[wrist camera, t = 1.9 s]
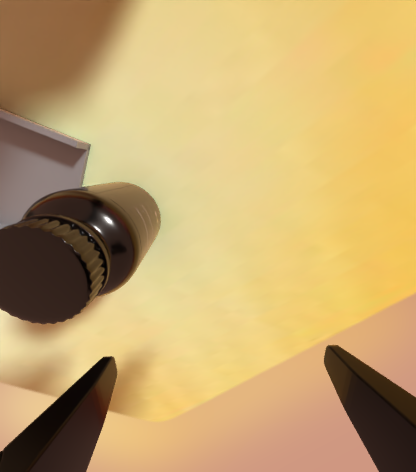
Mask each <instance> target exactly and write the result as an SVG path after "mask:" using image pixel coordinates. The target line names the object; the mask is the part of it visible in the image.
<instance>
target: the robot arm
mask: <svg viewBox="0 0 416 472" xmlns="http://www.w3.org/2000/svg"><path fill="white" fill-rule="evenodd" d="M324 364H325V367H326V370H327V372H328V374H329V376H330V378H331V381H332V383H333V385H334V387H335V390H336V392H337V394H338V396H339V398H340V401H341V403H342V405H343V407H344V409H345V411H346V413H347V415H348V416H349V418H350V420H351V422H352V424H353V425H354V427H355V429H356V431H357V433H358V434H359V436H360V438H361V440H362V441H363V443H364V445H365V447H366V449H367V451H368V453H369V454H370V456H371V458H372V460H373V462H374V463H375V465H376V467H377V469H378V470H379V472H416V397H414V396H413V395H411V394H410V393H408V392H407V391H405V390H404V389H402V388H401V387H399V386H398V385H396V384H395V383H393V382H392V381H390V380H389V379H387V378H386V377H384V376H383V375H381V374H380V373H378V372H377V371H375V370H374V369H372V368H371V367H369V366H368V365H366V364H365V363H363V362H362V361H360V360H359V359H357V358H356V357H354V356H353V355H351V354H350V353H348V352H347V351H345V350H344V349H342V348H341V347H339V346H338V345H328V346H327V347H326V351H325V356H324ZM116 378H117V368H116V363H115V359H114V357H112V356H110V357H103V358H102V359H100V360H99V361H98V362H97V363H96V364H95V365H94V366H93V367H92V368H91V369H90V370H88V371H87V372H86V373H85V374H84V375H83V376H82V377H81V378H80V379H79V380H78V381H77V382H75V383H74V384H73V385H72V386H71V387H70V388H69V389H68V390H67V391H66V392H65V393H64V394H62V395H61V396H60V397H59V398H58V399H57V400H56V401H55V402H54V403H53V404H52V405H51V406H49V407H48V408H47V409H46V410H45V411H44V412H43V413H42V414H41V415H40V416H39V417H38V418H37V419H35V420H34V422H32V423H31V424H30V425H29V426H28V427H27V428H26V429H25V430H23V432H22V433H20V434H19V435H18V436H17V437H16V438H15V439H14V440H13V441H12V442H10V443H9V444H8V445H7V446H6V447H5V448H4V450H3V451H1V452H0V472H86V470H87V468H88V465H89V462H90V460H91V457H92V454H93V451H94V449H95V446H96V443H97V440H98V438H99V435H100V433H101V430H102V427H103V424H104V421H105V418H106V414H107V411H108V407H109V403H110V400H111V396H112V392H113V389H114V385H115V382H116Z"/></svg>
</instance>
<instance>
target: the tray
mask: <svg viewBox="0 0 416 472" xmlns="http://www.w3.org/2000/svg"><path fill="white" fill-rule="evenodd" d="M89 150H90V144H88V143H85V142H83V141H80V140H78V139H75V138H73V137H71V136H68V135H66V134H63V133H61V132H58V131H56V130H53V129H51V128H48V127H46V126H43V125H41V124H38V123H36V122H33V121H31V120H28V119H26V118H23V117H21V116H18V115H16V114H13V113H11V112H8V111H6V110H3V109H1V108H0V229H2V228H3V227H5V226H8V225H12V224H15V223H17V222H19V221H21V219H22V217H23V215H24V214H25V212H26V211H27V210H28V209H29V207H30V206H31V205H32V204H33V203H35V202H36V201H37V200H39V199H40V198H42V197H44V196H46V195H48V194H50V193H54V192H57V191H61V190H67V189H73V188H80V187H82V183H83V178H84V174H85V169H86V164H87V160H88V155H89Z"/></svg>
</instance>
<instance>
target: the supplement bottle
mask: <svg viewBox="0 0 416 472" xmlns="http://www.w3.org/2000/svg"><path fill="white" fill-rule="evenodd" d="M160 224H161V217H160V212H159V208H158V206H157V204H156V202H155V201H154V199H153V198H152V197H151V196H150V195H149V194H148V193H147V192H146V191H145V190H144V189H142V188H140V187H138V186H136V185H134V184H130V183H125V182H114V183H106V184H100V185H93V186H87V187H80V188H73V189H67V190H61V191H57V192H54V193H50V194H48V195H46V196H44V197H42V198H40V199H39V200H37V201H36V202H35V203H33V204H32V205H31V206H30V207H29V209H28V210H27V211H26V212H25V214H24V215H23V217H22V219H21V221H19V222H17V223H15V224H12V225H8V226H5V227H3V228H2V229H0V309H1V310H3V311H6V312H8V313H9V314H10V315H11V316H15V317H18V318H19V319H21V320H26V321H29V322H32V323H41V324H46V323H51V324H54V323H56V322H64V321H65V320H67V319H71V318H73V317H74V316H75V315H77V314H79V313H81V312H82V311H83V310H84V309H85V307H87V306H88V305H89V304H90V302H91V301H92V300H93V299H94V298H95V297H100V296H104V295H107V294H109V293H112V292H114V291H116V290H117V289H119V288H120V287H122V286H123V285H124V284H125V283H127V282H128V280H129V279H130V278H131V277H132V275H133V274H134V273H135V271H136V270H137V268H138V266H139V265H140V263H141V261H142V260H143V258H144V256H145V255H146V253H147V252H148V250H149V248H150V247H151V245H152V243H153V242H154V240H155V238H156V236H157V234H158V232H159V229H160Z"/></svg>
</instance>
